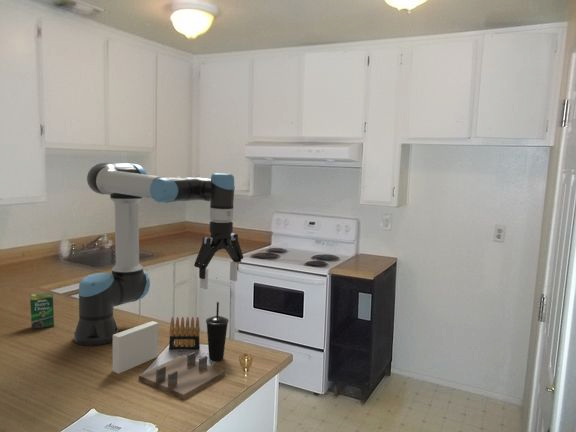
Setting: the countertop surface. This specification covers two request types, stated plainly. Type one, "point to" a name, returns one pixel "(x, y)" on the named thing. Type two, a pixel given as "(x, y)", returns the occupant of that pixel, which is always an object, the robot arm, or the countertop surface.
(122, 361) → the door panel
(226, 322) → the drinking cup
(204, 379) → the clip board
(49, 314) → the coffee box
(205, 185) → the robot arm
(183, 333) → the ammunition clip
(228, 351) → the countertop surface
